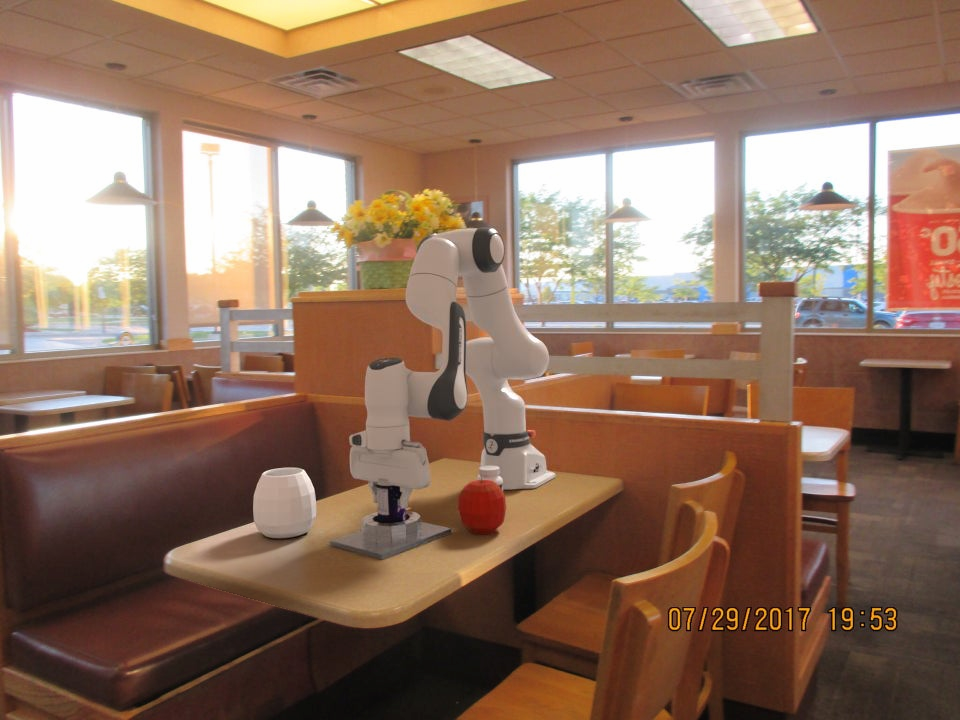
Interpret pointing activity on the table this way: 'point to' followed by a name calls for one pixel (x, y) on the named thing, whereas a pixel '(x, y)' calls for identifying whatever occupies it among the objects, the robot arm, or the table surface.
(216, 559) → the table surface
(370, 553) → the hub plate
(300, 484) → the cup
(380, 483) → the beverage can
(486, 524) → the apple
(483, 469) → the pill bottle
